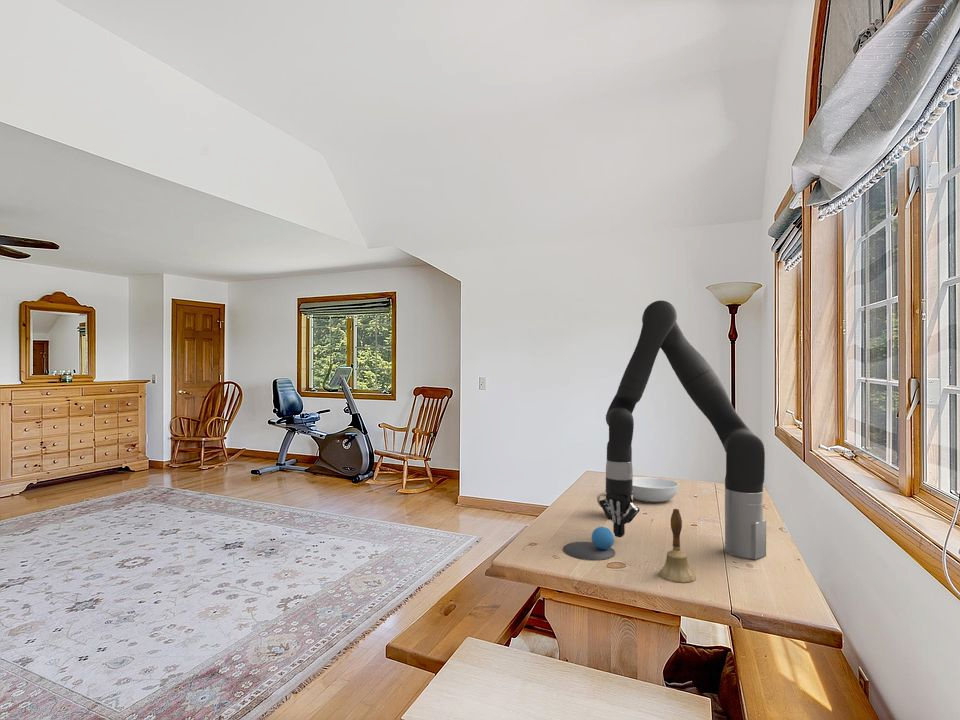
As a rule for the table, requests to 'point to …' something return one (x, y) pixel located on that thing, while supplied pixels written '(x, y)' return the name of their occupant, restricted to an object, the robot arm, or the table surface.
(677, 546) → the hand bell
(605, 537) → the ball
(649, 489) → the serving bowl
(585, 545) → the charcoal disc
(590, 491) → the table surface
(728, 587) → the table surface
